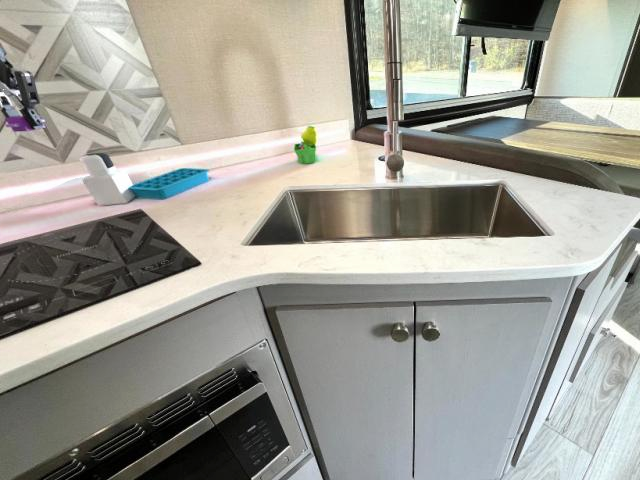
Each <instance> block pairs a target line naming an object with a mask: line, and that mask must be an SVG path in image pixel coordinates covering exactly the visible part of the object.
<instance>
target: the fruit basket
mask: <svg viewBox="0 0 640 480" xmlns="http://www.w3.org/2000/svg"><path fill="white" fill-rule="evenodd" d="M317 135H318V132H317V130H316V127H315V126H313V125H308V126H307V128H306V129H305V130H304V131H303V133H302V134H301V135H300V136H301V141H300V143H299V142H298V143H294V144H293V151H294V153H295V154H296V157H297V159H298V161H299V163H300V164H301V165H307V164H316V154H317V152H316V151H317V143H318V136H317Z"/></svg>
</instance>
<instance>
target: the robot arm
mask: <svg viewBox="0 0 640 480" xmlns="http://www.w3.org/2000/svg"><path fill="white" fill-rule="evenodd" d="M6 56H7V51H6V49H5V48H4V46H3V45H2V42H0V112H1V113H2V115H3V116H4V117H5V118H10V117H17V116H23V117H24V118H25V120H26V121H27V123H28V124H29V126H30V127H31V128H32V129H34V130H33V131H36V130H42V129H45V128H44V127H43V124H44V122H43V123H42V121H41V120H40V119H41V117H40V116H39V114H38V113H37V111H36V110H35V106H36V105H40V104H41V100H40V96H39V92H38V90H37V85H36V80H35V77H34V74H33V73H32V72H31V71H30V70H21V69H18V68H16V67H15V66H14V65H13V64H12V63H11V62H10V61H9V60H8V59H7V57H6ZM12 102H13V103H14V104H15V106H16V107H17V108H18V111H19V112H20V113H19V112H18V111H17V109H16V108H14V105H13V103H12ZM39 117H40V118H39ZM35 129H36V130H35Z"/></svg>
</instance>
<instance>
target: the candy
mask: <svg viewBox="0 0 640 480" xmlns="http://www.w3.org/2000/svg"><path fill="white" fill-rule="evenodd" d="M39 118H40V120H41V121H42V123H43V127H44V128H43V129H46V128H47V126H46V125H45V122H46V120H45V119H44V118H41V117H40V116H39ZM4 120H5V121H6V124H5V127H6V128H11V131H13V132H14V133H17V132H18V133H19V132H20V133H21V132H30V131H36V130H37V129H35V130H34V129H32V128H31V127H30V126H29V124H28V123H27V121H26V120H25V118H24V117H23V115H20V116H17V117H10V118H6V117H5V118H4Z"/></svg>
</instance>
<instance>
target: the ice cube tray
mask: <svg viewBox="0 0 640 480" xmlns="http://www.w3.org/2000/svg"><path fill="white" fill-rule="evenodd" d="M209 172H210V169H208V168H194V167H193V168H192V167H181V168H177V169H174V170H171V171H169V172H165V173H162V174H159V175H157V176H154V177H151V178H148V179H145V180H142V181H139V182H135V183H132V184H133V185H132V186H130V187H129V188H128V189H132V190H133V191H134V193H135V194H136V198H141V199H151V200H165V199H169V198H171V197H174V196H176V195H178V194H180V193H184V192H185V191H187V190H190V189H192V188H194V187H198V186H199V185H202V184H204V183H206V182H209V181H210V179H209V175H208V173H209Z"/></svg>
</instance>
